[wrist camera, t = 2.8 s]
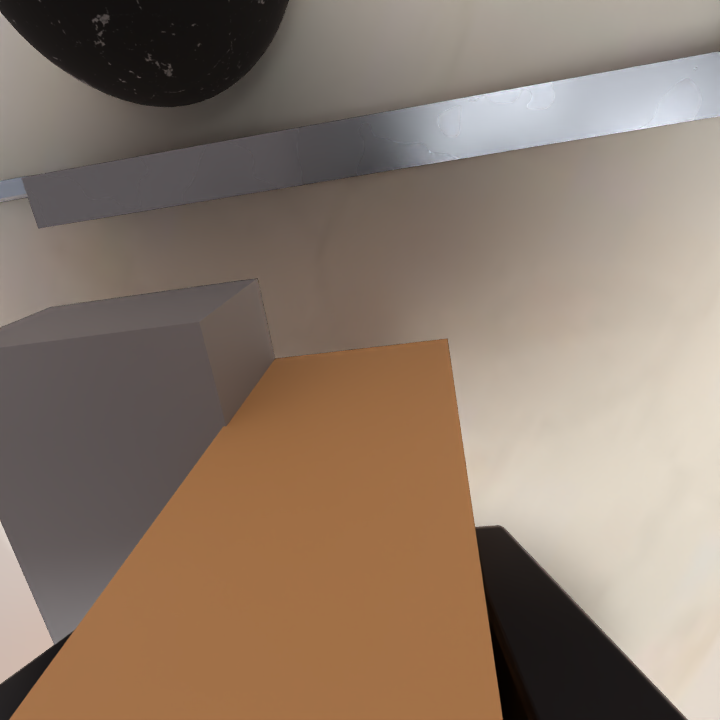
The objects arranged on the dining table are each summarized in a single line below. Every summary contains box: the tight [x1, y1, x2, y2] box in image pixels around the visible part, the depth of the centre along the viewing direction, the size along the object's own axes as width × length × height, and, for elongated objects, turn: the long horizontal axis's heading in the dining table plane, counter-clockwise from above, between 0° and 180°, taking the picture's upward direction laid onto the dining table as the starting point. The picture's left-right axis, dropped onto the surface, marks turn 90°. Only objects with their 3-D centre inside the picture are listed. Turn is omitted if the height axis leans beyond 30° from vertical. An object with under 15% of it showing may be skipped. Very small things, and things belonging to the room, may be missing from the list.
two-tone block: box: [0, 278, 503, 720], centre depth 7 cm, size 8×7×10 cm
